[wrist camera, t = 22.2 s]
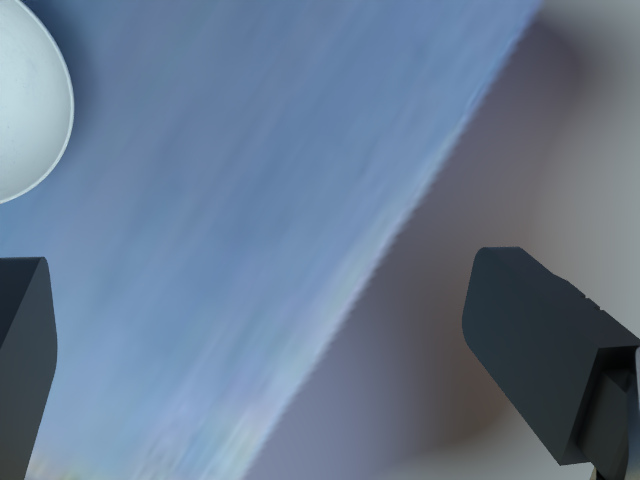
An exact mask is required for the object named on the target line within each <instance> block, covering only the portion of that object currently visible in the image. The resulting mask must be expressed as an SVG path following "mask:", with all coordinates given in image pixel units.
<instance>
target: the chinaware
mask: <svg viewBox="0 0 640 480" xmlns="http://www.w3.org/2000/svg"><path fill="white" fill-rule="evenodd" d="M73 121H74V93H73V86H72V81H71V77H70V73H69V70H68V67H67V64H66V62H65V59H64V57H63V55H62V53H61V51H60V49H59V47H58V45H57V43H56V41H55V40H54V38H53V36H52V35H51V33H50V32H49V31H48V29H47V28H46V26H45V25H44V24H43V23H42V21H41V20H40V19H39V18H38V17H37V16H36V15H35V14H34V12H33V11H32V10H31V9H30V8H29V7H28V6H26V5H25V4H24V3H23V2H22V1H21V0H0V204H1V203H4V202H7V201H10V200H12V199H14V198H17V197H19V196H21V195H23V194H24V193H26V192H28V191H29V190H31V189H32V188H34V187H35V186H36V185H38V184H39V183H40V182H41V181H42V180H43V179H45V178H46V177H47V176H48V175H49V173H50V172H51V171H52V170H53V169H54V167H55V166H56V165H57V163H58V162H59V160H60V159H61V157H62V155H63V153H64V151H65V149H66V147H67V144H68V142H69V139H70V136H71V132H72V127H73Z"/></svg>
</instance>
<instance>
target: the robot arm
mask: <svg viewBox="0 0 640 480" xmlns="http://www.w3.org/2000/svg"><path fill="white" fill-rule="evenodd" d="M462 328H463V334H464V338H465V341H466V343H467V345H468V346H469V348H470V349H471V350H472V352H473V353H474V354H475V356H476V357H477V358H478V360H479V361H480V362H481V363H482V365H483V366H484V367H485V369H486V370H487V371H488V373H489V374H490V375H491V376H492V378H493V379H494V380H495V382H496V383H497V384H498V386H499V387H500V388H501V389H502V391H503V392H504V393H505V395H506V396H507V397H508V399H509V400H510V401H511V403H512V404H513V405H514V406H515V408H516V409H517V410H518V412H519V413H520V414H521V415H522V417H523V418H524V419H525V421H526V422H527V423H528V425H529V426H530V427H531V429H532V430H533V431H534V433H535V434H536V435H537V436H538V438H539V439H540V440H541V442H542V443H543V444H544V446H545V447H546V448H547V449H548V451H549V452H550V453H551V455H552V456H553V457H554V459H555V460H556V461H557V463H558V464H559V465H560V466H561V465H569V464H577V463H586V462H591V463H592V464H593V465H594V469H593V472H592V474H591V477H590V480H640V339H639V338H637V337H636V336H635V335H634V334H632V333H631V332H630V331H629V330H628V329H626V328H625V327H624V326H623V325H621V324H620V323H619V322H618V321H616V320H615V319H614V318H613V317H611V316H610V315H609V314H608V313H607V312H605V311H604V310H600V307H599V306H598V305H597V304H595V303H594V302H593V301H592V300H591V299H589V298H585V295H584V294H583V293H582V292H581V291H579V290H578V289H577V288H576V287H575V286H573V285H572V284H571V283H570V282H568V281H566V280H564V279H562V278H560V277H558V276H556V275H554V274H552V273H551V272H550V271H549V270H548V269H546V268H545V267H544V266H543V265H542V264H540V263H539V262H538V261H537V260H535V259H534V258H533V257H532V256H531V255H529V254H528V253H527V252H526V251H524V250H523V249H521V248H520V247H484V248H481V249H480V250H479V251H478V252H477V254H476V256H475V259H474V263H473V268H472V272H471V277H470V282H469V287H468V292H467V296H466V301H465V306H464V310H463V316H462ZM56 363H57V332H56V324H55V316H54V307H53V299H52V291H51V282H50V274H49V268H48V263H47V260H46V259H45V257H13V258H0V480H24V478H25V474H26V471H27V467H28V464H29V460H30V457H31V454H32V450H33V447H34V443H35V440H36V436H37V433H38V429H39V426H40V422H41V419H42V415H43V412H44V408H45V405H46V401H47V398H48V394H49V391H50V388H51V384H52V381H53V377H54V374H55V369H56Z"/></svg>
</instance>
